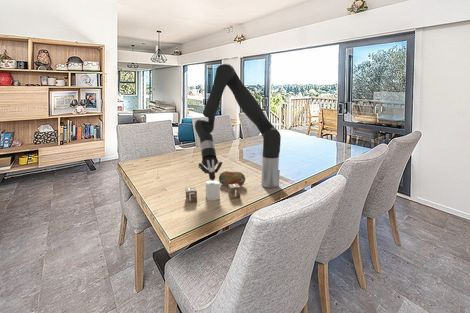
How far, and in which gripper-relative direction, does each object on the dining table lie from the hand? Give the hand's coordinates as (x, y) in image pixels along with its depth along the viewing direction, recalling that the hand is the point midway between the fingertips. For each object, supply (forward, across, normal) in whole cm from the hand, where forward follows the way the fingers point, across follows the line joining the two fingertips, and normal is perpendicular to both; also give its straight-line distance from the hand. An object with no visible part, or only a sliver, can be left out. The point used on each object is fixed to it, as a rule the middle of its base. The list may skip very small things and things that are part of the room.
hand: (212, 179), depth 135 cm
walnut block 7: (+8, -11, +6) cm, 15 cm away
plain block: (+7, 0, +7) cm, 9 cm away
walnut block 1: (+8, +11, +6) cm, 15 cm away
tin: (-3, +14, +17) cm, 22 cm away
